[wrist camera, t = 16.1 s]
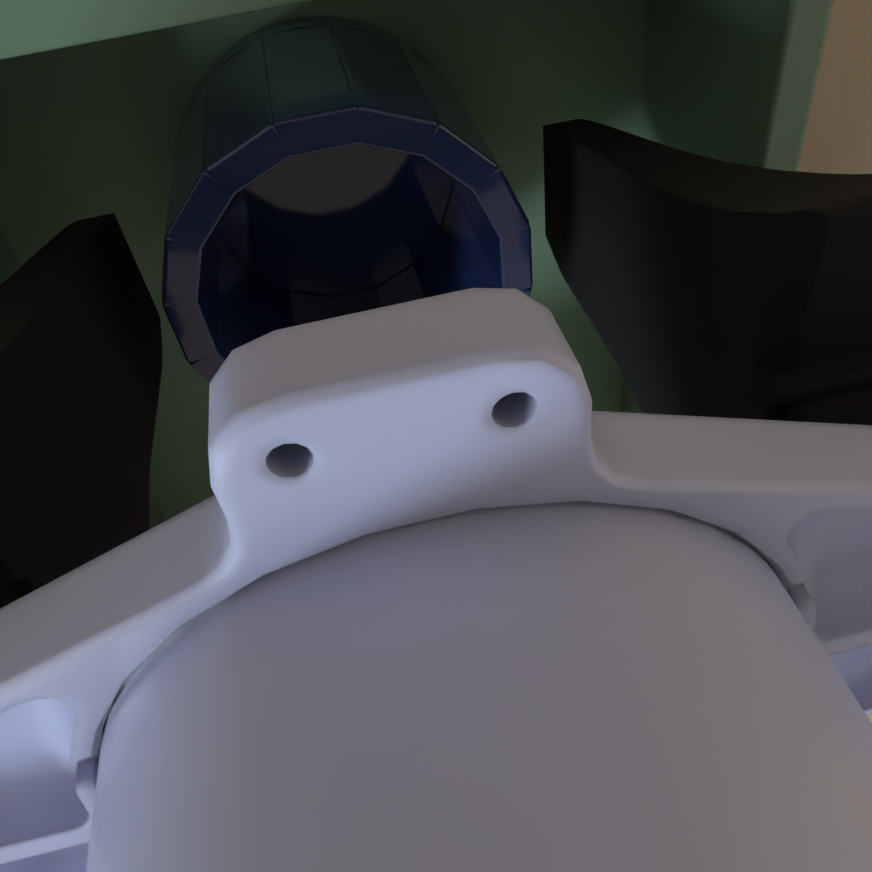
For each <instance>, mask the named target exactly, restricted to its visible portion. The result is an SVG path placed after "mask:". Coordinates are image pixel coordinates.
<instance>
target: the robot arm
mask: <svg viewBox="0 0 872 872" xmlns="http://www.w3.org/2000/svg"><path fill="white" fill-rule="evenodd" d="M543 151H544V195H545V235H546V238H547V240H548V243H549V245H550V248H551V250H552V253H553V255H554V258H555V260H556V262H557V265H558V267H559V269H560V272H561V274H562V276H563V278H564V280H565V281H566V283H567V285H568V286H569V288H570V289H571V291H572V293H573V294H574V296H575V297H576V299H577V301H578V302H579V304H580V305H581V307H582V309H583V310H584V312H585V313H586V315H587V316H588V318H589V320H590V321H591V323H592V324H593V326H594V327H595V329H596V330H597V332H598V334H599V335H600V337H601V338H602V340H603V341H604V343H605V345H606V346H607V348H608V349H609V351H610V352H611V354H612V356H613V357H614V359H615V361H616V362H617V364H618V366H619V368H620V369H621V371H622V373H623V375H624V377H625V379H626V381H627V383H628V385H629V387H630V389H631V392H632V394H633V396H634V398H635V400H636V402H637V405H638V407H639V409H640V411H641V413H627V412H608V411H592V398H591V395H590V392H589V389H588V386H587V384H586V381H585V378H584V375H583V372H582V369H581V366H580V365H579V363H578V361H577V359H576V357H575V355H574V354H573V352H572V350H571V348H570V346H569V345H568V343H567V341H566V339H565V337H564V335H563V334H562V332H561V330H560V328H559V326H558V324H557V323H556V321H555V319H554V317H553V315H552V313H551V312H550V310H549V309H548V308H547V307H545V306H544V305H542V304H540V303H539V302H537V301H536V300H534V299H532V298H531V297H529V296H528V295H526V294H524V293H523V292H521V291H520V290H518V289H506V288H469V289H464V290H460V291H455V292H450V293H446V294H441V295H437V296H432V297H427V298H423V299H418V300H413V301H409V302H404V303H399V304H395V305H390V306H385V307H381V308H376V309H371V310H367V311H362V312H357V313H353V314H348V315H343V316H339V317H334V318H330V319H325V320H320V321H316V322H311V323H306V324H302V325H297V326H292V327H288V328H283V329H278V330H274V331H272V332H270V333H268V334H266V335H263V336H261V337H259V338H257V339H255V340H253V341H251V342H248V343H246V344H244V345H242V346H240V347H238V348H236V349H233V350H232V351H231V353H230V354H229V355H228V357H227V358H226V360H225V361H224V363H223V364H222V366H221V367H220V368H219V370H218V371H217V373H216V374H215V376H214V377H213V379H212V380H211V382H210V383H209V428H208V457H209V470H210V484H211V488H212V490H213V492H214V494H215V495H213V496H211V497H209V498H207V499H206V500H204V501H202V502H200V503H198V504H196V505H194V506H192V507H191V508H189V509H187V510H185V511H183V512H181V513H179V514H177V515H176V516H174V517H172V518H170V519H168V520H166V521H164V522H162V523H160V524H159V525H157V526H155V527H153V528H151V529H150V517H149V478H150V463H151V454H152V447H153V439H154V431H155V423H156V415H157V408H158V400H159V391H160V383H161V374H162V364H163V360H162V336H161V321H160V315H159V313H158V311H157V308H156V306H155V304H154V302H153V299H152V297H151V295H150V293H149V290H148V288H147V286H146V284H145V281H144V279H143V277H142V275H141V272H140V270H139V268H138V266H137V263H136V261H135V259H134V257H133V254H132V252H131V250H130V248H129V245H128V243H127V241H126V239H125V236H124V234H123V232H122V230H121V227H120V225H119V223H118V221H117V218H116V216H115V214H114V213H111V214H106V215H102V216H97V217H92V218H87V219H82V220H77V221H75V222H73V223H72V224H70V225H68V226H67V227H66V228H64V229H63V230H62V231H60V232H59V233H58V234H57V235H56V236H55V237H53V238H52V239H51V240H50V241H49V242H48V243H47V244H45V245H44V246H43V247H42V248H41V249H40V250H39V251H38V252H37V253H36V254H34V255H33V256H32V257H31V258H30V259H29V260H28V261H27V262H26V263H24V264H23V265H22V266H21V267H20V268H19V269H18V270H17V271H16V272H14V273H13V274H12V275H11V276H10V277H9V278H8V279H6V280H5V281H4V282H3V283H2V284H0V872H872V723H871V722H870V720H869V719H868V717H867V715H869V714H871V713H872V174H823V173H810V172H797V171H784V170H776V169H767V168H760V167H755V166H749V165H743V164H737V163H731V162H726V161H722V160H717V159H713V158H709V157H705V156H701V155H697V154H694V153H690V152H686V151H683V150H679V149H676V148H673V147H669V146H666V145H663V144H660V143H657V142H654V141H651V140H648V139H645V138H642V137H639V136H636V135H633V134H630V133H628V132H625V131H622V130H619V129H616V128H613V127H610V126H607V125H604V124H600V123H597V122H593V121H589V120H584V119H574V120H569V121H565V122H560V123H555V124H550V125H545V126H543Z"/></svg>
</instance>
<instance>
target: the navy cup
mask: <svg viewBox="0 0 872 872" xmlns="http://www.w3.org/2000/svg"><path fill="white" fill-rule="evenodd" d="M532 285H533V272H532V245H531V228H530V226H529V220H528V218H527V216H526V214H525V213H524V211H523V209H522V207H521V205H520V203H519V201H518V199H517V198H516V196H515V194H514V192H513V190H512V188H511V186H510V184H509V183H508V181H507V179H506V177H505V175H504V173H503V171H502V169H501V168H500V166H499V164H498V163H497V161H496V159H495V158H494V156H493V155H492V153H491V151H490V150H489V148H488V146H487V145H486V143H485V141H484V140H483V138H482V137H481V135H480V133H479V132H478V130H477V128H476V127H475V125H474V123H473V122H472V120H471V119H470V117H469V115H468V114H467V112H466V110H465V109H464V107H463V106H462V104H461V102H460V101H459V99H458V97H457V96H456V94H455V92H454V91H453V89H452V88H451V86H450V84H449V83H448V81H446V80H445V78H444V77H443V76H442V75H441V74H440V73H439V72H438V71H437V69H436V68H435V67H434V66H433V65H432V64H431V62H430V61H428V60H427V59H426V58H425V57H424V56H423V55H422V54H421V53H420V52H418V51H417V50H416V49H415V48H414V47H412V46H411V45H409V44H408V43H406V42H405V41H403V40H402V39H400V38H399V37H397V36H395V35H393V34H391V33H389V32H387V31H385V30H383V29H380V28H378V27H375V26H372V25H369V24H366V23H363V22H360V21H355V20H349V19H343V18H337V17H309V18H301V19H293V20H289V21H285V22H282V23H278V24H274V25H271V26H269V27H266V28H264V29H262V30H259V31H257V32H255V33H252V34H251V35H249V36H247V37H246V38H244V39H243V40H241V41H239V42H238V43H236V44H235V45H233V46H232V47H231V48H230V49H228V50H227V51H226V52H225V53H224V54H223V55H221V56H220V57H219V58H218V59H217V60H216V61H215V62H214V63H213V64H212V66H211V67H210V68H209V69H208V70H207V71H206V72H205V74H204V75H203V76H202V78H201V79H200V81H199V83H198V84H197V86H196V87H195V89H194V90H193V92H192V94H191V96H190V98H189V101H188V103H187V105H186V107H185V109H184V112H183V116H182V119H181V123H180V126H179V128H178V131H177V135H176V140H175V149H174V158H173V167H172V176H171V185H170V194H169V204H168V213H167V222H166V231H165V242H164V260H163V279H162V298H161V299H162V301H163V308H164V311H165V313H166V315H167V317H168V320H169V322H170V324H171V327H172V329H173V331H174V333H175V336H176V338H177V340H178V343H179V345H180V347H181V349H182V352H183V354H184V356H185V359H186V360H187V361H188V362H189V363H190V365H191V366H192V367H193V368H194V369H195V370H196V371H197V372H198V373H199V374H201V375H202V376H203V377H204V378H205V379H206V380H207V381H208V382H209V383H210V382H211V380H212V379H213V377H214V376H215V374H216V373H217V371H218V370H219V368H220V367H221V366H222V364H223V363H224V361H225V360H226V358H227V357H228V355H229V354H230V353H231V351H232V350H233V349H236V348H238V347H240V346H242V345H244V344H246V343H248V342H251V341H253V340H255V339H257V338H259V337H261V336H263V335H266V334H268V333H270V332H272V331H274V330H278V329H283V328H288V327H292V326H297V325H302V324H306V323H311V322H316V321H320V320H325V319H330V318H334V317H339V316H343V315H348V314H353V313H357V312H362V311H367V310H371V309H376V308H381V307H385V306H390V305H395V304H399V303H404V302H409V301H413V300H418V299H423V298H427V297H432V296H437V295H441V294H446V293H450V292H455V291H460V290H464V289H469V288H506V289H518V290H520V291H521V292H523V293H524V294H526V295H528V296H530V294H531V291H532Z"/></svg>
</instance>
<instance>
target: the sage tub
mask: <svg viewBox="0 0 872 872" xmlns="http://www.w3.org/2000/svg"><path fill="white" fill-rule="evenodd" d="M832 5H833V0H0V284H2V283H3V282H4V281H5V280H6V279H8V278H9V277H10V276H11V275H12V274H13V273H14V272H16V271H17V270H18V269H19V268H20V267H21V266H22V265H23V264H24V263H26V262H27V261H28V260H29V259H30V258H31V257H32V256H33V255H34V254H36V253H37V252H38V251H39V250H40V249H41V248H42V247H43V246H44V245H45V244H47V243H48V242H49V241H50V240H51V239H52V238H53V237H55V236H56V235H57V234H58V233H59V232H60V231H62V230H63V229H64V228H66V227H67V226H68V225H70V224H72V223H73V222H75V221H77V220H82V219H87V218H92V217H97V216H102V215H106V214H111V213H114V214H115V216H116V218H117V221H118V223H119V225H120V227H121V230H122V232H123V234H124V236H125V239H126V241H127V243H128V245H129V248H130V250H131V252H132V254H133V257H134V259H135V261H136V263H137V266H138V268H139V270H140V272H141V275H142V277H143V279H144V281H145V284H146V286H147V288H148V290H149V293H150V295H151V297H152V299H153V302H154V304H155V306H156V308H157V311H158V313H159V315H160V321H161V336H162V360H163V364H162V374H161V383H160V391H159V400H158V408H157V415H156V423H155V431H154V439H153V447H152V454H151V463H150V478H149V517H150V529H151V528H153V527H155V526H157V525H159V524H160V523H162V522H164V521H166V520H168V519H170V518H172V517H174V516H176V515H177V514H179V513H181V512H183V511H185V510H187V509H189V508H191V507H192V506H194V505H196V504H198V503H200V502H202V501H204V500H206V499H207V498H209V497H211V496H213V495H215V494H214V492H213V490H212V488H211V484H210V470H209V457H208V428H209V382H208V381H207V380H206V379H205V378H204V377H203V376H202V375H201V374H199V373H198V372H197V371H196V370H195V369H194V368H193V367H192V366H191V365H190V363H189V362H188V361H187V360H186V359H185V356H184V354H183V352H182V349H181V347H180V345H179V343H178V340H177V338H176V336H175V333H174V331H173V329H172V327H171V324H170V322H169V320H168V317H167V315H166V313H165V311H164V308H163V301H162V299H161V298H162V279H163V260H164V242H165V231H166V222H167V213H168V204H169V194H170V185H171V176H172V167H173V158H174V149H175V140H176V135H177V131H178V128H179V126H180V123H181V119H182V116H183V112H184V109H185V107H186V105H187V103H188V101H189V98H190V96H191V94H192V92H193V90H194V89H195V87H196V86H197V84H198V83H199V81H200V79H201V78H202V76H203V75H204V74H205V72H206V71H207V70H208V69H209V68H210V67H211V66H212V64H213V63H214V62H215V61H216V60H217V59H218V58H219V57H220V56H221V55H223V54H224V53H225V52H226V51H227V50H228V49H230V48H231V47H232V46H233V45H235V44H236V43H238V42H239V41H241V40H243V39H244V38H246V37H247V36H249V35H251V34H252V33H255V32H257V31H259V30H262V29H264V28H266V27H269V26H271V25H274V24H278V23H282V22H285V21H289V20H293V19H301V18H309V17H337V18H343V19H349V20H355V21H360V22H363V23H366V24H369V25H372V26H375V27H378V28H380V29H383V30H385V31H387V32H389V33H391V34H393V35H395V36H397V37H399V38H400V39H402V40H403V41H405V42H406V43H408V44H409V45H411V46H412V47H414V48H415V49H416V50H417V51H418V52H420V53H421V54H422V55H423V56H424V57H425V58H426V59H427V60H428V61H430V62H431V64H432V65H433V66H434V67H435V68H436V69H437V71H438V72H439V73H440V74H441V75H442V76H443V77H444V78H445V80H446V81H448V83H449V84H450V86H451V88H452V89H453V91H454V92H455V94H456V96H457V97H458V99H459V101H460V102H461V104H462V106H463V107H464V109H465V110H466V112H467V114H468V115H469V117H470V119H471V120H472V122H473V123H474V125H475V127H476V128H477V130H478V132H479V133H480V135H481V137H482V138H483V140H484V141H485V143H486V145H487V146H488V148H489V150H490V151H491V153H492V155H493V156H494V158H495V159H496V161H497V163H498V164H499V166H500V168H501V169H502V171H503V173H504V175H505V177H506V179H507V181H508V183H509V184H510V186H511V188H512V190H513V192H514V194H515V196H516V198H517V199H518V201H519V203H520V205H521V207H522V209H523V211H524V213H525V214H526V216H527V218H528V220H529V226H530V228H531V245H532V272H533V285H532V291H531V294H530V296H529V297H531V298H532V299H534V300H536V301H537V302H539V303H540V304H542V305H544V306H545V307H547V308H548V309H549V310H550V312H551V313H552V315H553V317H554V319H555V321H556V323H557V324H558V326H559V328H560V330H561V332H562V334H563V335H564V337H565V339H566V341H567V343H568V345H569V346H570V348H571V350H572V352H573V354H574V355H575V357H576V359H577V361H578V363H579V365H580V366H581V369H582V372H583V375H584V378H585V381H586V384H587V386H588V389H589V392H590V395H591V398H592V411H608V412H627V413H641V411H640V409H639V407H638V405H637V402H636V400H635V398H634V396H633V394H632V392H631V389H630V387H629V385H628V383H627V381H626V379H625V377H624V375H623V373H622V371H621V369H620V368H619V366H618V364H617V362H616V361H615V359H614V357H613V356H612V354H611V352H610V351H609V349H608V348H607V346H606V345H605V343H604V341H603V340H602V338H601V337H600V335H599V334H598V332H597V330H596V329H595V327H594V326H593V324H592V323H591V321H590V320H589V318H588V316H587V315H586V313H585V312H584V310H583V309H582V307H581V305H580V304H579V302H578V301H577V299H576V297H575V296H574V294H573V293H572V291H571V289H570V288H569V286H568V285H567V283H566V281H565V280H564V278H563V276H562V274H561V272H560V269H559V267H558V265H557V262H556V260H555V258H554V255H553V253H552V250H551V248H550V245H549V243H548V240H547V238H546V235H545V195H544V151H543V126H545V125H550V124H555V123H560V122H565V121H569V120H574V119H584V120H589V121H593V122H597V123H600V124H604V125H607V126H610V127H613V128H616V129H619V130H622V131H625V132H628V133H630V134H633V135H636V136H639V137H642V138H645V139H648V140H651V141H654V142H657V143H660V144H663V145H666V146H669V147H673V148H676V149H679V150H683V151H686V152H690V153H694V154H697V155H701V156H705V157H709V158H713V159H717V160H722V161H726V162H731V163H737V164H743V165H749V166H755V167H760V168H767V169H776V170H784V171H797V167H798V162H799V158H800V153H801V149H802V144H803V139H804V135H805V130H806V125H807V121H808V116H809V111H810V107H811V102H812V98H813V93H814V88H815V84H816V79H817V74H818V70H819V65H820V61H821V56H822V51H823V47H824V42H825V37H826V33H827V28H828V23H829V19H830V14H831V10H832Z"/></svg>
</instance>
